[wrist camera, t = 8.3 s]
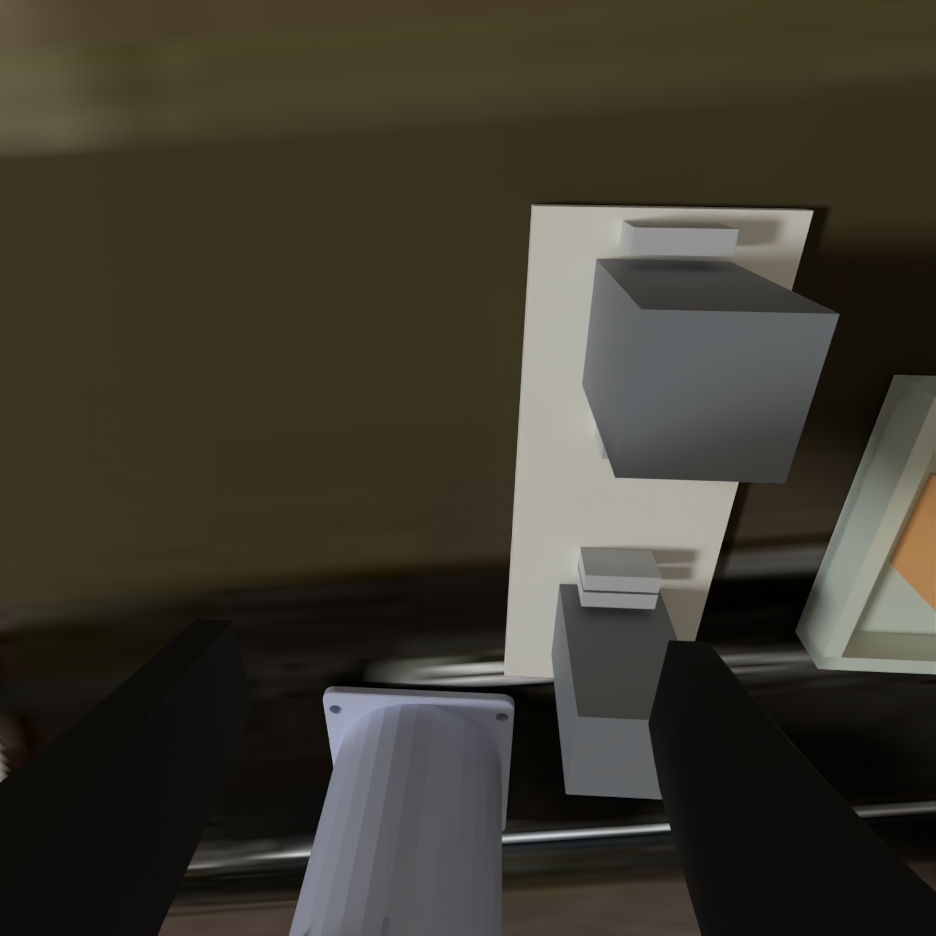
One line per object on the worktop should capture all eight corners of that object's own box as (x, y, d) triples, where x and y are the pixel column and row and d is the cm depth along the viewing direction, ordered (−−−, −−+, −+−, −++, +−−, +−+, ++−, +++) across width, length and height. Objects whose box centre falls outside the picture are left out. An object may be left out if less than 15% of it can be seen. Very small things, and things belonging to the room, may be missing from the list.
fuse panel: (678, 671, 23) (732, 827, 18) (504, 663, 23) (506, 815, 18) (802, 208, 15) (970, 241, 10) (531, 204, 15) (549, 233, 10)
